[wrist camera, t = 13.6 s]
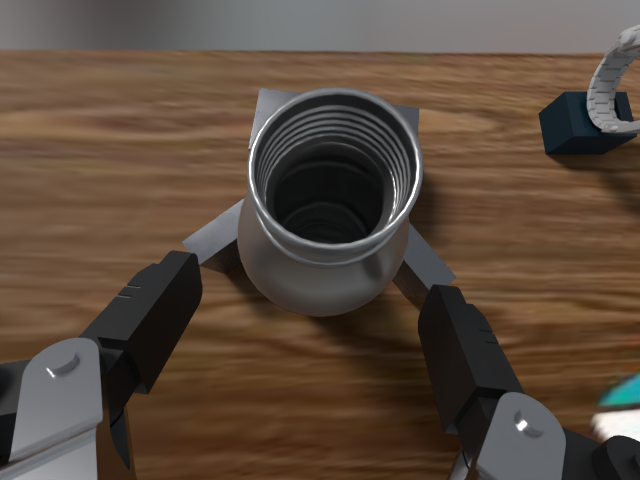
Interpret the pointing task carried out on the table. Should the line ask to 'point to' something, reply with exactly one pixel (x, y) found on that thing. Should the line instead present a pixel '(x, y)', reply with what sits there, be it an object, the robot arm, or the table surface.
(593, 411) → the table surface
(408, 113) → the v block
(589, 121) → the watch
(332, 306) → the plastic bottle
